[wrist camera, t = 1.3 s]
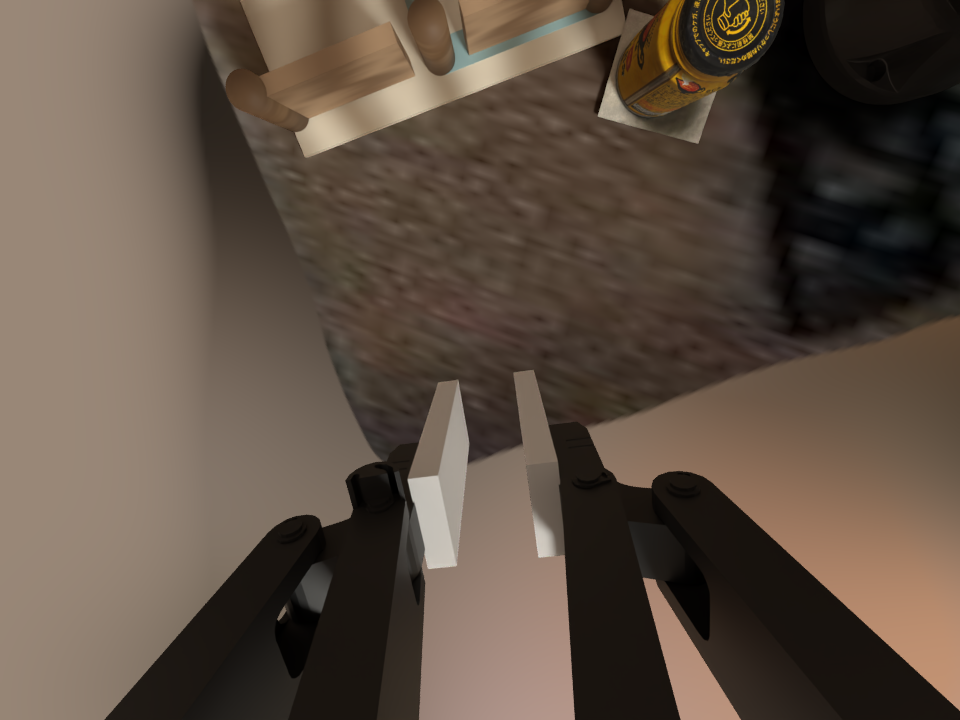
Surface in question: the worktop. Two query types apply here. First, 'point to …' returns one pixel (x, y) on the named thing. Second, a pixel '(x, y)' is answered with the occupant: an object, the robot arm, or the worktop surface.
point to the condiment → (685, 61)
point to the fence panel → (322, 79)
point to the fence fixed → (484, 24)
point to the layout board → (370, 3)
